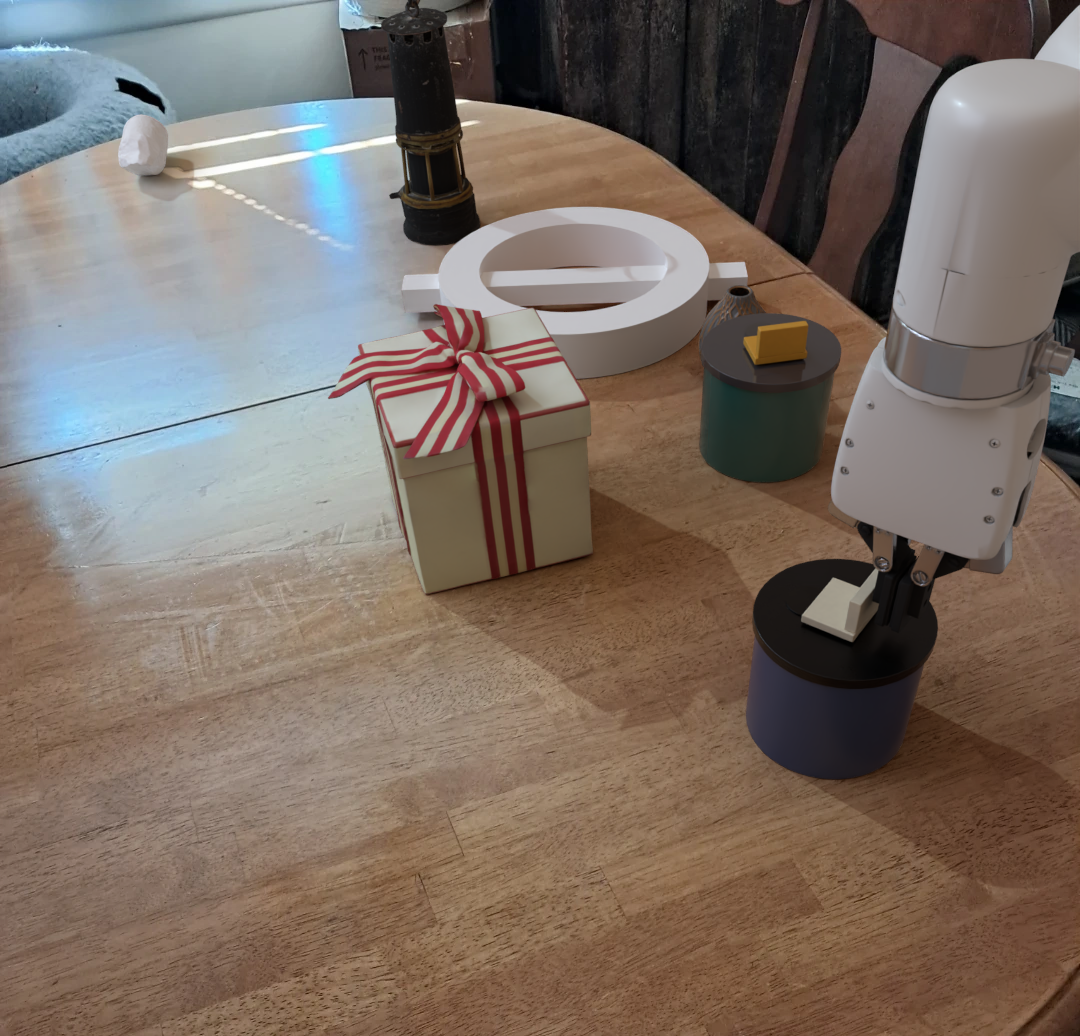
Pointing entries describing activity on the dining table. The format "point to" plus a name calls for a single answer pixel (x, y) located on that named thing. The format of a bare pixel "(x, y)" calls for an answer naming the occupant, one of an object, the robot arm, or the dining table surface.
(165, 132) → the white rock
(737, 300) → the vase
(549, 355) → the gift box
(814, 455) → the green lidded canister
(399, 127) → the lantern
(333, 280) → the dining table surface
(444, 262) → the ring with crossbar
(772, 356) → the slider
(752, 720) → the blue lidded jar
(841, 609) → the slider
